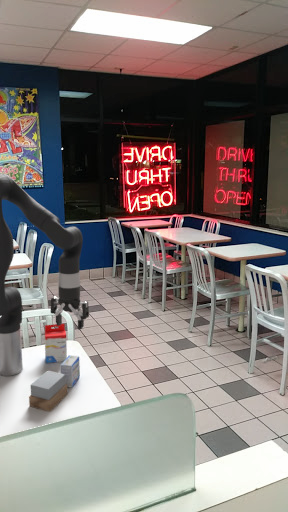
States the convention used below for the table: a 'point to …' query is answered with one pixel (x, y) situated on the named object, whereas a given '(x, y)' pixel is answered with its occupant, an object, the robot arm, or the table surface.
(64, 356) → the ink box
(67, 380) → the medicine box
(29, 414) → the table surface
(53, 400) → the walnut base slab
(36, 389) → the slate top slab
